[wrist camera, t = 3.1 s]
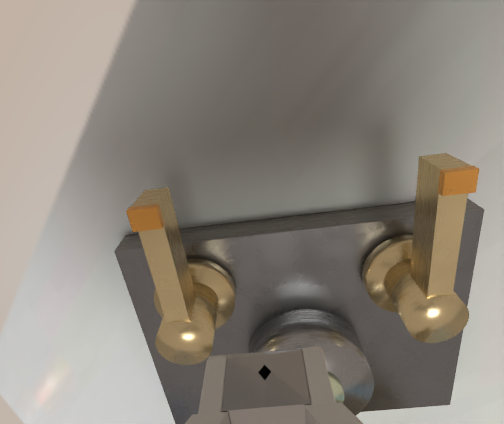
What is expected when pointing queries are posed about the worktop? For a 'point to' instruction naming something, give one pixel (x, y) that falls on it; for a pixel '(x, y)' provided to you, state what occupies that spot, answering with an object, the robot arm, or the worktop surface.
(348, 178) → the worktop surface
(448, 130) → the worktop surface
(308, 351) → the robot arm
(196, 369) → the levelling base
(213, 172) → the worktop surface
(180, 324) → the lever
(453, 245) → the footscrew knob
